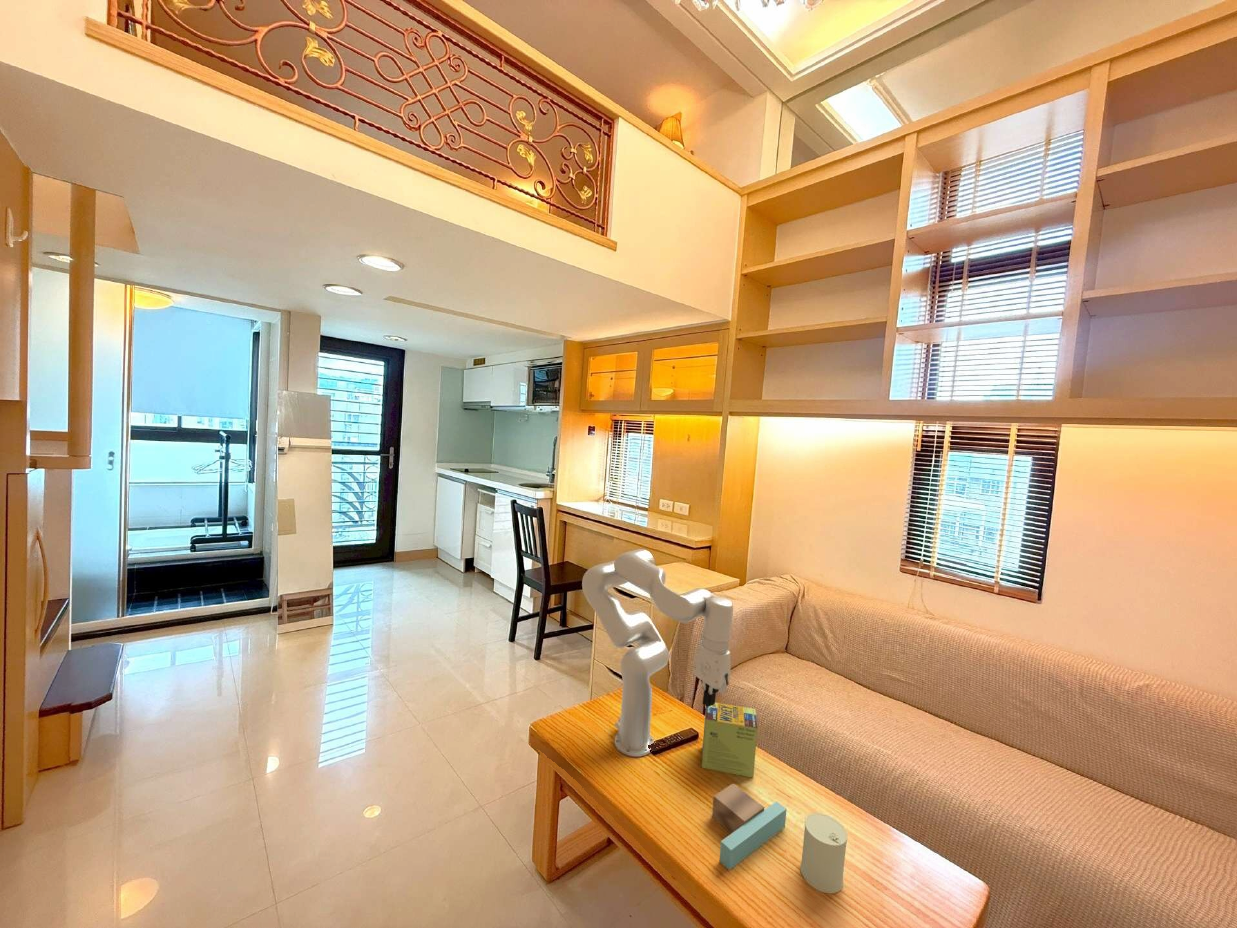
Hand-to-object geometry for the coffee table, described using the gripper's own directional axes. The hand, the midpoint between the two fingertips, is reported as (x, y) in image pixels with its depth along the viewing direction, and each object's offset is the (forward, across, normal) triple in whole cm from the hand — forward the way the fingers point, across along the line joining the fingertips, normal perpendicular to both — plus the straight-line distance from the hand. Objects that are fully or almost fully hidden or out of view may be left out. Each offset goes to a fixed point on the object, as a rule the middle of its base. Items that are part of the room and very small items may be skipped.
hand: (708, 704), depth 139 cm
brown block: (+24, +15, -2) cm, 28 cm away
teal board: (+23, +22, -3) cm, 32 cm away
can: (+23, +36, +3) cm, 43 cm away
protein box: (+24, -2, +14) cm, 28 cm away
